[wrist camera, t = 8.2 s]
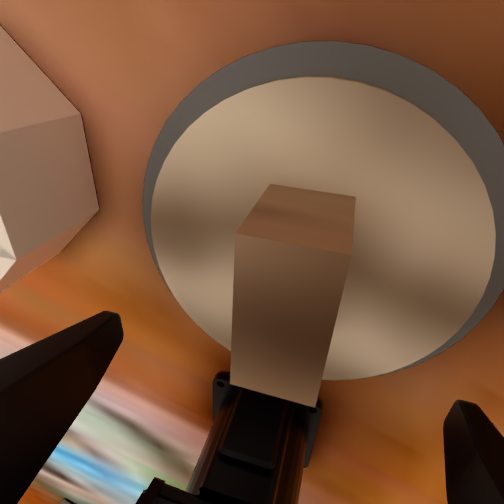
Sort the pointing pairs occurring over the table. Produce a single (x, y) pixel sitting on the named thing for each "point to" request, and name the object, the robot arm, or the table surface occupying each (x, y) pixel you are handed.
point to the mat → (372, 72)
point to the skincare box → (65, 502)
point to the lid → (321, 232)
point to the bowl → (38, 167)
